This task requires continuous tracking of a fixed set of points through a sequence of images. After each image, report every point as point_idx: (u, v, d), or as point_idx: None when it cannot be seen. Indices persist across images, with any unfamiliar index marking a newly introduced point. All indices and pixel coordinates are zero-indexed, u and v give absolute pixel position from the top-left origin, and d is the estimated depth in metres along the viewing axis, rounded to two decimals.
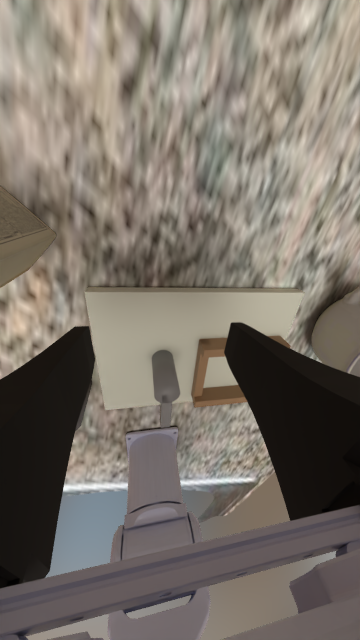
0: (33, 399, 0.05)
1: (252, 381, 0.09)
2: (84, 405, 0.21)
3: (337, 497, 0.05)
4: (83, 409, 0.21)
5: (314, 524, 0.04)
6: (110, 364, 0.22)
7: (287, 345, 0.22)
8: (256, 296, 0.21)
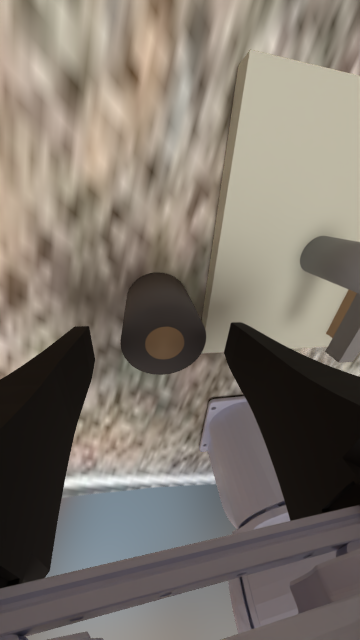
0: (33, 399, 0.05)
1: (252, 381, 0.09)
2: None
3: (337, 498, 0.05)
4: None
5: (314, 524, 0.04)
6: (238, 257, 0.13)
7: None
8: None
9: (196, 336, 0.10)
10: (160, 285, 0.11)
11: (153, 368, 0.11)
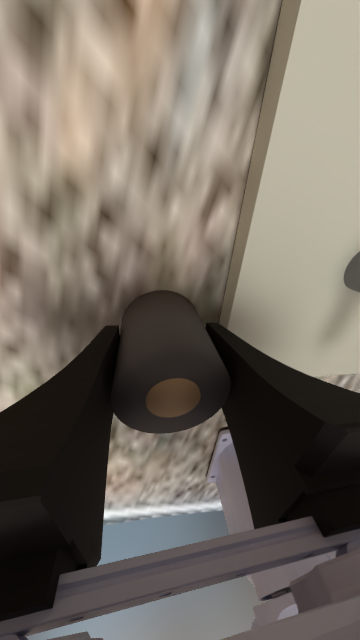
0: (91, 394, 0.05)
1: None
2: None
3: (293, 507, 0.05)
4: None
5: (314, 524, 0.04)
6: (267, 272, 0.10)
7: None
8: None
9: (216, 387, 0.07)
10: (166, 312, 0.08)
11: (157, 427, 0.08)
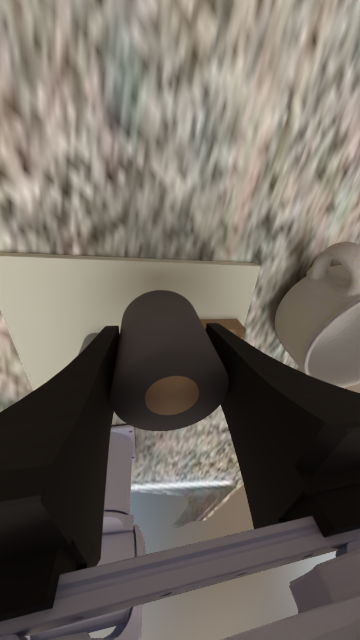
0: (91, 394, 0.05)
1: None
2: None
3: (293, 507, 0.05)
4: None
5: (314, 524, 0.04)
6: (33, 348, 0.18)
7: (242, 328, 0.19)
8: (201, 269, 0.17)
9: (215, 386, 0.08)
10: (167, 311, 0.09)
11: (154, 424, 0.08)
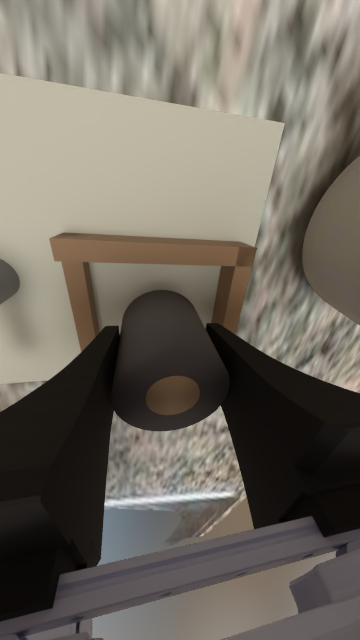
0: (91, 394, 0.05)
1: None
2: None
3: (293, 508, 0.05)
4: None
5: (314, 524, 0.04)
6: None
7: (250, 247, 0.11)
8: (172, 117, 0.09)
9: (216, 386, 0.08)
10: (168, 310, 0.09)
11: (154, 424, 0.08)
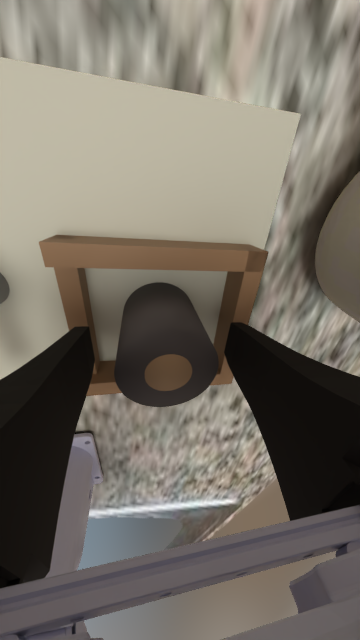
0: (33, 399, 0.05)
1: (252, 381, 0.09)
2: None
3: (337, 497, 0.05)
4: None
5: (314, 524, 0.04)
6: None
7: (261, 251, 0.10)
8: (176, 106, 0.08)
9: (206, 365, 0.09)
10: (164, 299, 0.10)
11: (152, 400, 0.09)
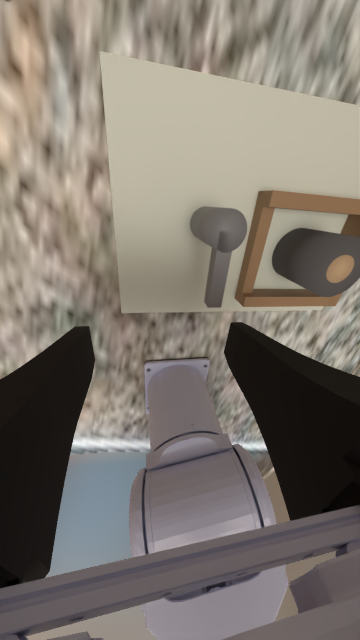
0: (33, 399, 0.05)
1: (252, 381, 0.09)
2: None
3: (337, 497, 0.05)
4: None
5: (314, 524, 0.04)
6: (133, 224, 0.15)
7: None
8: (349, 113, 0.14)
9: None
10: (325, 231, 0.15)
11: (321, 290, 0.15)
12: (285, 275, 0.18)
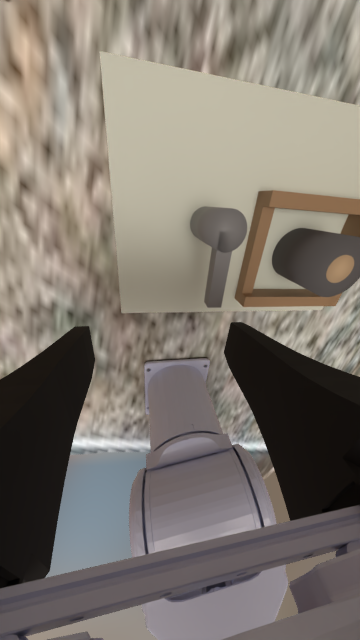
0: (33, 399, 0.05)
1: (252, 381, 0.09)
2: None
3: (337, 497, 0.05)
4: None
5: (314, 524, 0.04)
6: (133, 224, 0.15)
7: None
8: (349, 113, 0.14)
9: None
10: (325, 231, 0.15)
11: (321, 290, 0.15)
12: (285, 275, 0.18)
